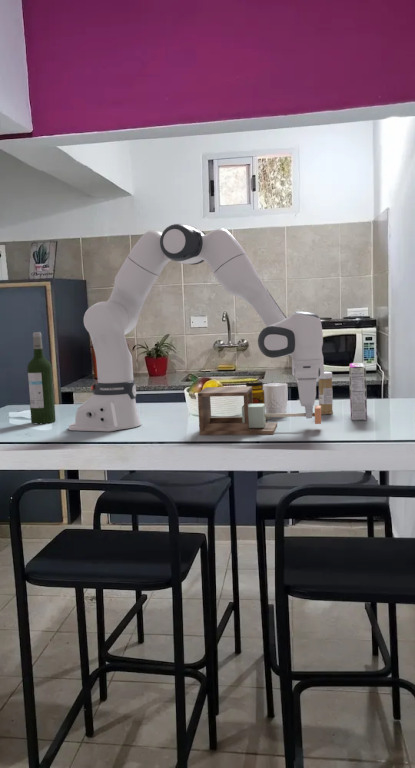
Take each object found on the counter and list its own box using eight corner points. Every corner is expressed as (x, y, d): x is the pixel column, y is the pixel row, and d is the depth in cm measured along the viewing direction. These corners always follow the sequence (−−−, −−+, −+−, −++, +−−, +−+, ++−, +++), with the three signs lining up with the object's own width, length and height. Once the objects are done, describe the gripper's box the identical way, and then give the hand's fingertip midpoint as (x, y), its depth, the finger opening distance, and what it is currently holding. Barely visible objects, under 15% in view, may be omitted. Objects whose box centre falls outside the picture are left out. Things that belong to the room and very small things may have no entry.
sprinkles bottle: (317, 412, 227) (316, 371, 225) (331, 412, 227) (330, 371, 226) (321, 415, 222) (319, 373, 221) (335, 414, 223) (333, 372, 221)
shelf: (199, 434, 199) (197, 393, 197) (207, 426, 211) (205, 387, 210) (273, 434, 195) (271, 391, 194) (277, 425, 207) (275, 385, 206)
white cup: (261, 416, 224) (260, 386, 223) (266, 412, 232) (265, 382, 231) (285, 417, 222) (284, 385, 221) (290, 412, 229) (289, 382, 228)
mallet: (242, 427, 200) (241, 407, 199) (245, 424, 206) (244, 403, 205) (320, 426, 196) (320, 405, 195) (321, 423, 201) (320, 402, 201)
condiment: (249, 422, 216) (247, 383, 215) (239, 418, 224) (238, 381, 223) (271, 420, 218) (269, 381, 217) (261, 416, 226) (259, 379, 225)
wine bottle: (58, 419, 237) (52, 331, 233) (51, 424, 229) (44, 332, 225) (36, 420, 238) (29, 332, 234) (28, 424, 230) (20, 333, 226)
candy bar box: (350, 414, 221) (349, 363, 219) (366, 414, 220) (365, 362, 218) (350, 420, 210) (349, 366, 208) (367, 420, 209) (366, 366, 207)
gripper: (298, 365, 208) (300, 411, 210) (294, 373, 188) (296, 423, 190) (320, 364, 207) (321, 411, 208) (318, 372, 187) (319, 423, 188)
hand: (309, 417), depth 199 cm, fingers closed on mallet
